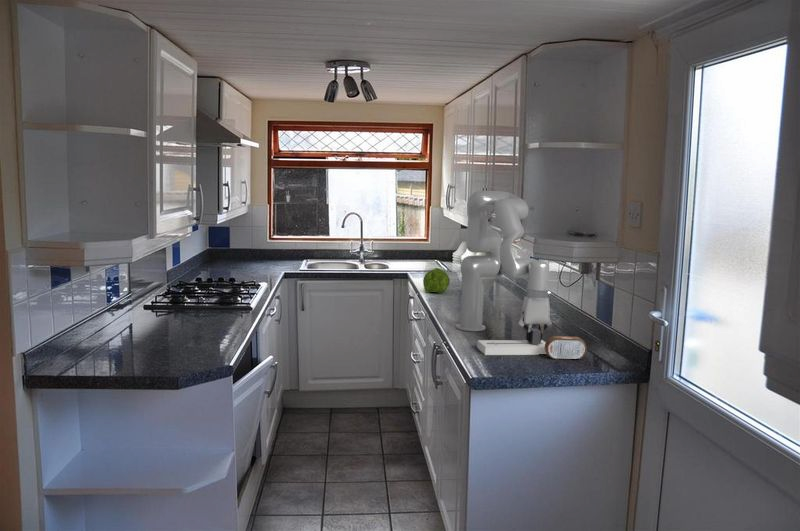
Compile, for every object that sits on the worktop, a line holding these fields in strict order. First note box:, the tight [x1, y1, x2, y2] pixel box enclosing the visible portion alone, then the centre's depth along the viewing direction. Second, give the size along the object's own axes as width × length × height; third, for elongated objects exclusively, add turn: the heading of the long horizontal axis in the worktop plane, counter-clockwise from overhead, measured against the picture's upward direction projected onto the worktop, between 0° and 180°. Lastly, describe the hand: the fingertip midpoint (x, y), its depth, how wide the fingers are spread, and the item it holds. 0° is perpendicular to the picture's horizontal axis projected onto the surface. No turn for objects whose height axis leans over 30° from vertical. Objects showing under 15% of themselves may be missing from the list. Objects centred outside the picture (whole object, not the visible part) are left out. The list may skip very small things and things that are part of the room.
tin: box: [545, 335, 588, 360], centre depth 236 cm, size 15×3×8 cm, turn 92°
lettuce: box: [422, 267, 451, 293], centre depth 371 cm, size 14×24×15 cm
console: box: [476, 339, 547, 356], centre depth 244 cm, size 10×26×3 cm, turn 100°
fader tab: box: [531, 327, 541, 344], centre depth 245 cm, size 5×3×5 cm, turn 10°
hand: (533, 341), depth 245 cm, fingers closed on fader tab, 3 cm apart
